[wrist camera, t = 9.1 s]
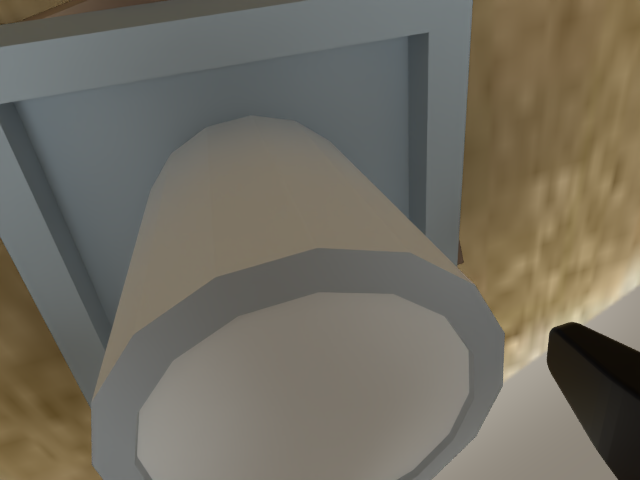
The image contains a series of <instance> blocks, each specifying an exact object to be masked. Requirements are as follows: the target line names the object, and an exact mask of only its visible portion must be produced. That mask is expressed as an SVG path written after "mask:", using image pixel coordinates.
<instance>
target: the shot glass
mask: <svg viewBox="0 0 640 480" xmlns="http://www.w3.org/2000/svg"><path fill="white" fill-rule="evenodd" d="M504 337H505V333H504V332H503V330H502V328H501V327H500V325H499V323H498V322H497V320H496V318H495V317H494V315H493V314H492V312H491V310H490V309H489V307H488V305H487V304H486V302H485V301H484V299H483V297H482V296H481V294H480V292H479V291H478V289H477V287H476V286H475V285H474V284H473V283H472V282H471V281H470V280H469V279H468V278H467V277H466V276H465V275H464V274H463V273H462V272H461V271H460V270H459V269H458V268H457V267H456V266H455V265H454V264H453V263H452V262H451V261H450V260H449V259H448V258H447V257H446V256H445V255H444V254H443V253H442V252H441V251H440V250H439V249H438V248H437V247H436V246H435V245H434V244H433V243H432V242H431V241H430V240H429V239H428V238H427V237H426V236H425V235H424V234H423V233H422V232H421V231H420V230H419V229H418V228H417V227H416V226H415V225H414V224H413V223H412V222H411V221H410V220H409V219H408V218H407V217H406V216H405V215H404V214H403V213H402V212H401V211H400V210H399V209H398V208H397V207H396V206H395V205H394V204H393V203H392V202H391V201H390V200H389V199H388V198H387V197H386V196H385V195H384V194H383V193H382V192H381V191H380V190H379V189H378V188H377V187H376V186H375V185H374V184H373V183H372V182H371V181H370V180H369V179H368V178H367V177H366V176H365V175H364V174H363V173H362V172H361V171H360V170H359V169H358V168H356V167H355V166H354V165H353V164H352V163H351V162H350V161H349V160H348V159H347V158H346V157H345V156H344V155H343V154H342V153H341V152H340V151H339V150H338V149H337V148H336V147H335V146H334V145H333V144H332V143H331V142H330V141H329V140H327V139H325V138H324V137H322V136H320V135H319V134H317V133H315V132H313V131H312V130H310V129H308V128H307V127H305V126H303V125H301V124H300V123H298V122H296V121H293V120H285V119H277V118H269V117H261V116H253V115H250V116H246V117H242V118H238V119H235V120H231V121H227V122H223V123H219V124H216V125H212V126H208V127H206V128H204V129H203V130H202V131H200V132H199V133H198V134H196V135H195V136H194V137H192V138H191V139H190V140H188V141H187V142H186V143H184V144H183V145H182V146H180V147H179V148H178V149H176V150H175V151H174V152H172V153H171V154H170V156H169V158H168V159H167V161H166V163H165V165H164V167H163V168H162V170H161V172H160V174H159V176H158V177H157V179H156V181H155V183H154V184H153V186H152V188H151V190H150V193H149V197H148V200H147V204H146V208H145V211H144V215H143V218H142V222H141V226H140V229H139V233H138V236H137V240H136V244H135V247H134V251H133V254H132V258H131V261H130V265H129V269H128V272H127V276H126V279H125V283H124V287H123V290H122V294H121V297H120V301H119V305H118V308H117V312H116V315H115V319H114V323H113V326H112V330H111V333H110V337H109V341H108V344H107V348H106V351H105V355H104V359H103V362H102V366H101V369H100V373H99V377H98V380H97V384H96V387H95V391H94V395H93V398H92V402H91V427H92V465H93V467H94V468H95V469H96V471H97V472H98V473H99V475H100V476H101V477H102V479H103V480H432V479H433V478H434V477H435V476H436V475H437V474H438V473H439V472H440V471H441V470H442V469H443V468H444V467H445V466H446V465H447V464H448V463H449V462H450V461H451V460H452V459H453V458H454V457H455V456H456V455H457V454H458V453H459V452H461V451H462V449H464V448H465V447H466V446H467V445H468V443H470V442H471V441H472V440H473V439H474V438H475V437H476V436H477V434H478V432H479V430H480V428H481V426H482V424H483V422H484V420H485V418H486V417H487V415H488V413H489V411H490V409H491V407H492V405H493V403H494V402H495V400H496V398H497V396H498V394H499V392H500V390H501V388H502V386H503V363H504Z"/></svg>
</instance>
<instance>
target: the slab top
mask: <svg viewBox="0 0 640 480" xmlns="http://www.w3.org/2000/svg"><path fill="white" fill-rule="evenodd" d="M472 5H473V0H168V1H161V2H154V3H147V4H141V5H134V6H127V7H120V8H113V9H107V10H100V11H93V12H86V13H79V14H72V15H66V16H59V17H52V18H45V19H38V20H31V21H24V22H17V23H10V24H3V25H0V237H1V239H2V241H3V243H4V245H5V247H6V249H7V251H8V252H9V254H10V256H11V258H12V260H13V262H14V264H15V266H16V268H17V269H18V271H19V273H20V275H21V277H22V279H23V281H24V283H25V285H26V287H27V288H28V290H29V292H30V294H31V296H32V298H33V300H34V302H35V304H36V306H37V307H38V309H39V311H40V313H41V315H42V317H43V319H44V321H45V323H46V324H47V326H48V328H49V330H50V332H51V334H52V336H53V338H54V340H55V342H56V343H57V345H58V347H59V349H60V351H61V353H62V355H63V357H64V359H65V360H66V362H67V364H68V366H69V368H70V370H71V372H72V374H73V376H74V378H75V379H76V381H77V383H78V385H79V387H80V389H81V391H82V393H83V395H84V397H85V398H86V400H87V402H88V404H89V406H90V408H91V402H92V398H93V395H94V391H95V387H96V384H97V380H98V377H99V373H100V369H101V366H102V362H103V359H104V355H105V351H106V348H107V344H108V341H109V337H110V333H111V330H112V326H113V323H114V319H115V315H116V312H117V308H118V305H119V301H120V297H121V294H122V290H123V287H124V283H125V279H126V276H127V272H128V269H129V265H130V261H131V258H132V254H133V251H134V247H135V244H136V240H137V236H138V233H139V229H140V226H141V222H142V218H143V215H144V211H145V208H146V204H147V200H148V197H149V193H150V190H151V188H152V186H153V184H154V183H155V181H156V179H157V177H158V176H159V174H160V172H161V170H162V168H163V167H164V165H165V163H166V161H167V159H168V158H169V156H170V154H171V153H172V152H174V151H175V150H176V149H178V148H179V147H180V146H182V145H183V144H184V143H186V142H187V141H188V140H190V139H191V138H192V137H194V136H195V135H196V134H198V133H199V132H200V131H202V130H203V129H204V128H206V127H208V126H212V125H216V124H219V123H223V122H227V121H231V120H235V119H238V118H242V117H246V116H250V115H253V116H261V117H269V118H277V119H285V120H293V121H296V122H298V123H300V124H301V125H303V126H305V127H307V128H308V129H310V130H312V131H313V132H315V133H317V134H319V135H320V136H322V137H324V138H325V139H327V140H329V141H330V142H331V143H332V144H333V145H334V146H335V147H336V148H337V149H338V150H339V151H340V152H341V153H342V154H343V155H344V156H345V157H346V158H347V159H348V160H349V161H350V162H351V163H352V164H353V165H354V166H355V167H356V168H358V169H359V170H360V171H361V172H362V173H363V174H364V175H365V176H366V177H367V178H368V179H369V180H370V181H371V182H372V183H373V184H374V185H375V186H376V187H377V188H378V189H379V190H380V191H381V192H382V193H383V194H384V195H385V196H386V197H387V198H388V199H389V200H390V201H391V202H392V203H393V204H394V205H395V206H396V207H397V208H398V209H399V210H400V211H401V212H402V213H403V214H404V215H405V216H406V217H407V218H408V219H409V220H410V221H411V222H412V223H413V224H414V225H415V226H416V227H417V228H418V229H419V230H420V231H421V232H422V233H423V234H424V235H425V236H426V237H427V238H428V239H429V240H430V241H431V242H432V243H433V244H434V245H435V246H436V247H437V248H438V249H439V250H440V251H441V252H442V253H443V254H444V255H445V256H446V257H447V258H448V259H449V260H450V261H451V262H452V263H453V264H454V265H455V266H456V267H457V261H458V244H459V227H460V210H461V193H462V176H463V159H464V142H465V124H466V107H467V90H468V73H469V56H470V39H471V22H472Z"/></svg>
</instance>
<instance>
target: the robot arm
mask: <svg viewBox="0 0 640 480" xmlns="http://www.w3.org/2000/svg"><path fill="white" fill-rule="evenodd" d="M547 365H548V368H549V370H550V372H551V374H552V376H553V378H554V379H555V381H556V382H557V384H558V386H559V388H560V389H561V391H562V393H563V395H564V396H565V398H566V400H567V401H568V403H569V404H570V406H571V408H572V410H573V411H574V413H575V415H576V416H577V418H578V419H579V422H580V423H581V425H582V426H583V428H584V430H585V432H586V433H587V435H588V437H589V438H590V440H591V442H592V443H593V445H594V446H595V448H596V450H597V451H598V452H599V454H600V455H601V457H602V458H603V460H604V461H605V462H606V464H607V465H608V467H609V468H610V469H611V471H612V472H613V473H614V474H615V476H616V477H617V479H618V480H640V352H639V351H636V350H635V349H632V348H630V347H628V346H626V345H624V344H622V343H619V342H617V341H615V340H613V339H611V338H609V337H607V336H604V335H602V334H600V333H598V332H596V331H594V330H592V329H590V328H587V327H585V326H583V325H581V324H579V323H575V322H569V323H566V324H563V325H560V326H557V327H554V328H552V330H551V331H550V333H549V342H548V352H547Z"/></svg>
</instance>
